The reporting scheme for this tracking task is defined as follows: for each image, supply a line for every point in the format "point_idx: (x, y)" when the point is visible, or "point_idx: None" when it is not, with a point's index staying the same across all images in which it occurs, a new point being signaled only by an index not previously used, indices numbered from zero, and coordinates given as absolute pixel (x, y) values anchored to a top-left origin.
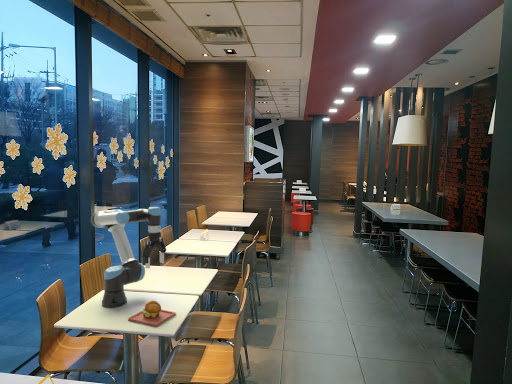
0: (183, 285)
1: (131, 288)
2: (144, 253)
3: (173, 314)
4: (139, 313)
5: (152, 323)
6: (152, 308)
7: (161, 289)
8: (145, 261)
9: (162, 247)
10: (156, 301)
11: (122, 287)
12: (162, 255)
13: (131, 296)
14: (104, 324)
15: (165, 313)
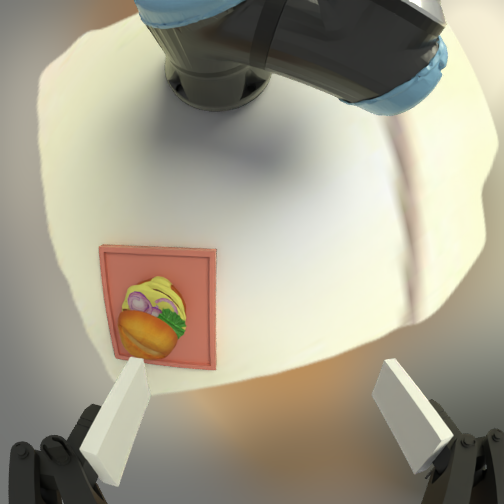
0: (473, 224)
1: None
2: (22, 496)
3: (202, 368)
4: (150, 253)
5: (113, 345)
6: (124, 347)
7: (427, 161)
8: (81, 421)
9: (480, 491)
10: (159, 348)
11: (220, 68)
12: (407, 447)
13: None
14: (57, 191)
15: (200, 338)
